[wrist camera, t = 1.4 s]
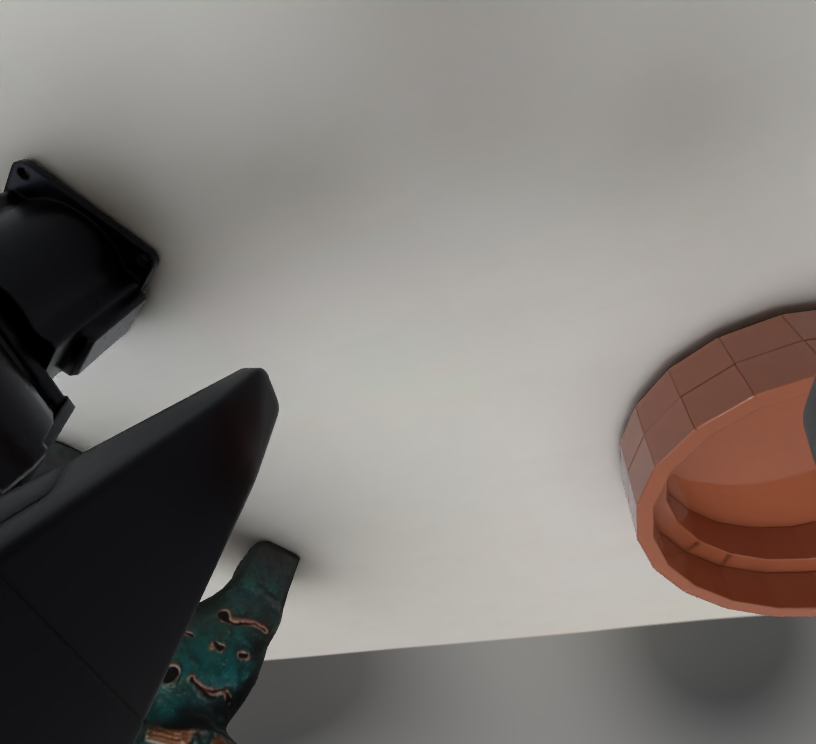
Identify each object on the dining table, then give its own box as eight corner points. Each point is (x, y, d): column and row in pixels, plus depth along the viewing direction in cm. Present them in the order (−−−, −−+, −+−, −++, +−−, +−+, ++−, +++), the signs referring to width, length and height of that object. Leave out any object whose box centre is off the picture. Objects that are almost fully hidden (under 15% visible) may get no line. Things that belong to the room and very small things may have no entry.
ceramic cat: (330, 560, 35) (184, 1032, 19) (291, 599, 39) (140, 1024, 23) (40, 415, 31) (-458, 862, 15) (26, 473, 35) (-388, 885, 19)
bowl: (556, 431, 26) (565, 501, 23) (871, 224, 19) (960, 278, 15) (726, 571, 30) (757, 649, 27) (1042, 446, 23) (1145, 530, 19)
